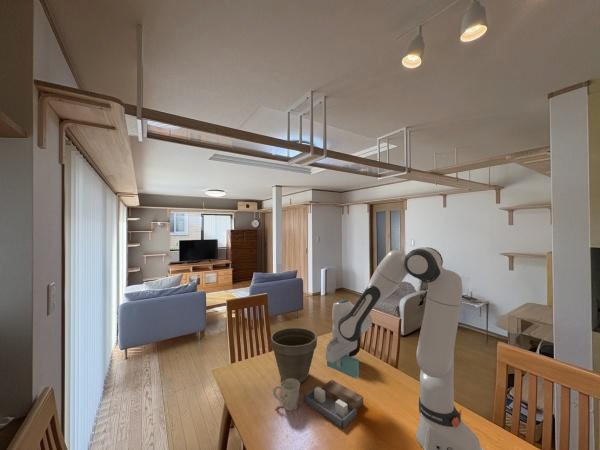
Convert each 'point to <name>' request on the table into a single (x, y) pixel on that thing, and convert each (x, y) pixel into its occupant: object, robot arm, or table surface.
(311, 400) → the tray
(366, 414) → the table surface
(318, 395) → the tile
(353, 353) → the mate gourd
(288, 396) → the mug
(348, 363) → the teal rectangular block
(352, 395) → the board
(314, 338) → the plant pot
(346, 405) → the tile
